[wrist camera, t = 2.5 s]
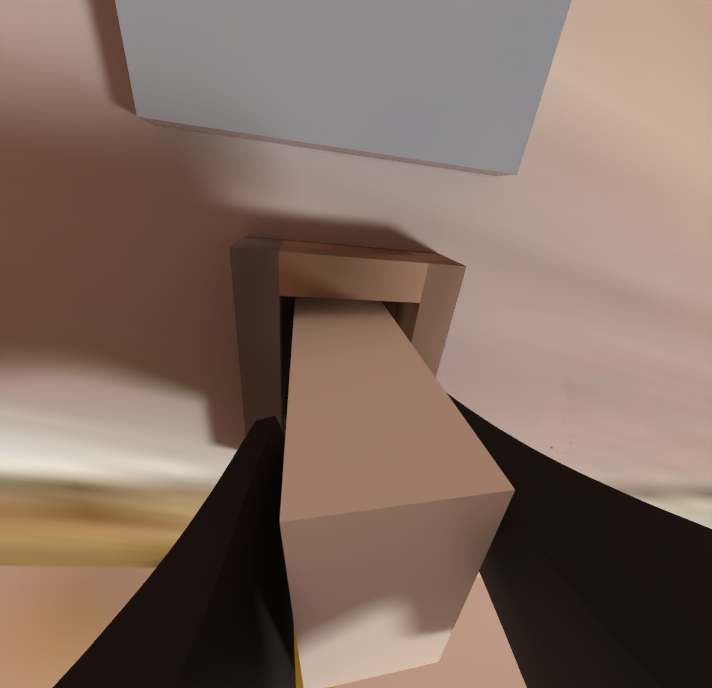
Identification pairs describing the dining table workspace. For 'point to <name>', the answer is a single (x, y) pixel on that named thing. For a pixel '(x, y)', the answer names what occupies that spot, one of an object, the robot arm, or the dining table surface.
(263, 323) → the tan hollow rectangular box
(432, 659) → the tan rectangular post
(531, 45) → the tile
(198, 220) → the dining table surface
